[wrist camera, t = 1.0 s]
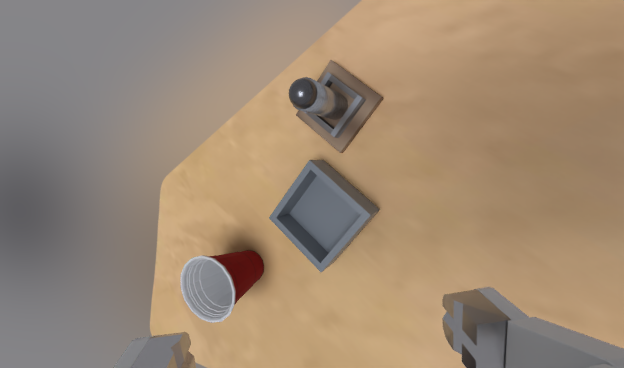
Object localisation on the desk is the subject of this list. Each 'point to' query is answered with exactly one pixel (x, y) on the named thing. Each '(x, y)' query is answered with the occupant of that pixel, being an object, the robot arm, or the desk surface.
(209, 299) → the plastic cup
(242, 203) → the desk surface
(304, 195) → the bin
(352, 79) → the socket plate
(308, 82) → the strut
